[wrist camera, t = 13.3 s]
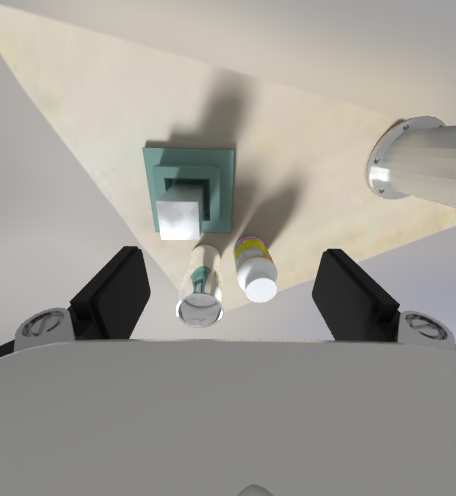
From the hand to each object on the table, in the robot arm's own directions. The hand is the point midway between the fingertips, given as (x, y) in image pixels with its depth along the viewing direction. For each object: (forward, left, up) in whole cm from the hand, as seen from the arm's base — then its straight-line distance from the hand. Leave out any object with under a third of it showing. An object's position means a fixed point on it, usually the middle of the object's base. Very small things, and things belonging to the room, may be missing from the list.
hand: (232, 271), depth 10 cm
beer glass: (+3, +15, -27) cm, 31 cm away
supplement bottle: (-6, +13, -27) cm, 31 cm away
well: (+5, +2, -27) cm, 27 cm away
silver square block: (+5, +2, -26) cm, 26 cm away
